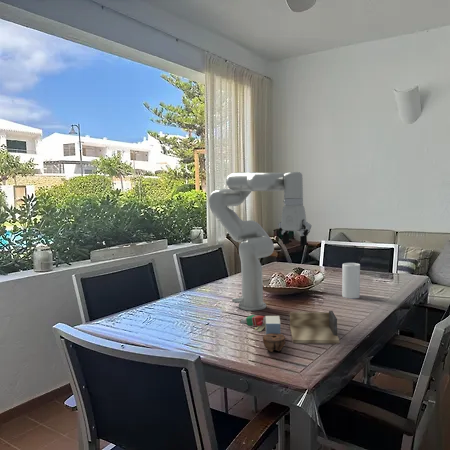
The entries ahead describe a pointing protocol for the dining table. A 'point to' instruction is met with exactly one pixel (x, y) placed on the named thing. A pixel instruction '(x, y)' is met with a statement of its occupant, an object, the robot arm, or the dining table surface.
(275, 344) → the artifact
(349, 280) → the cup
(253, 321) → the toy
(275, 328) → the book
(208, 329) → the dining table surface
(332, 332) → the tan shallow square box
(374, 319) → the dining table surface
